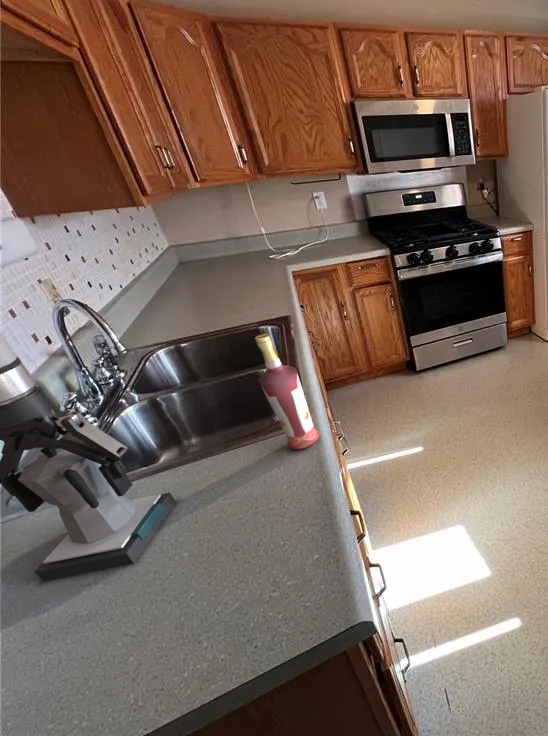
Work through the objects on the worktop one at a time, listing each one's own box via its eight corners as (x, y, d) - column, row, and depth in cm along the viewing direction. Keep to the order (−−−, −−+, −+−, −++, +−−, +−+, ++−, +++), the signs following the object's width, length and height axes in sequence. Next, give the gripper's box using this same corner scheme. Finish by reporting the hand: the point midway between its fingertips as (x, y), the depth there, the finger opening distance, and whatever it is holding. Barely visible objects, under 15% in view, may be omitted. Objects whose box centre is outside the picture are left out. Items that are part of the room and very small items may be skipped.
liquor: (323, 445, 96) (282, 337, 83) (289, 458, 93) (241, 348, 80) (319, 429, 102) (281, 325, 88) (287, 440, 99) (242, 335, 86)
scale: (43, 581, 70) (30, 569, 68) (99, 515, 82) (90, 503, 80) (135, 563, 72) (125, 550, 70) (177, 501, 84) (169, 489, 82)
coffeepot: (60, 528, 76) (-5, 452, 67) (122, 492, 82) (70, 420, 74) (90, 564, 68) (21, 485, 60) (156, 522, 75) (102, 445, 67)
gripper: (112, 371, 67) (172, 469, 77) (-68, 396, 64) (19, 495, 73) (78, 397, 60) (148, 500, 70) (-124, 426, 57) (-21, 530, 67)
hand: (82, 498), depth 72 cm, fingers open, 13 cm apart
